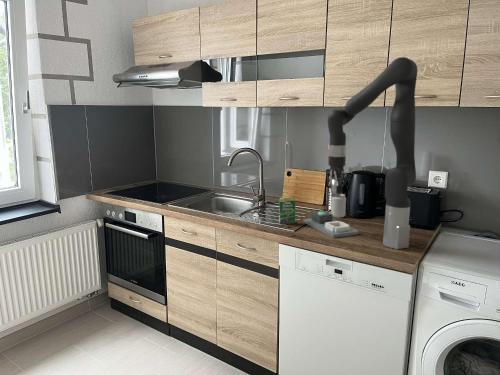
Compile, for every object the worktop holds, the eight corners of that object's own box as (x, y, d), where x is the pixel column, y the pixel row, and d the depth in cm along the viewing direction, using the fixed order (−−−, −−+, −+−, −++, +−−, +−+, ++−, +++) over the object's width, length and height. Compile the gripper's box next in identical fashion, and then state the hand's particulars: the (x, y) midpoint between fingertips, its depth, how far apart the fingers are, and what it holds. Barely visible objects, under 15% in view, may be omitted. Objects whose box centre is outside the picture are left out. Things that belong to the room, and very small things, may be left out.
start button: (328, 219, 181) (328, 213, 180) (320, 220, 179) (320, 214, 179) (323, 217, 185) (323, 211, 184) (315, 217, 183) (316, 212, 183)
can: (335, 218, 192) (336, 196, 190) (328, 214, 199) (329, 193, 197) (347, 217, 194) (349, 195, 192) (340, 213, 201) (341, 192, 199)
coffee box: (278, 224, 182) (279, 198, 179) (278, 222, 185) (278, 197, 182) (295, 224, 182) (295, 198, 179) (294, 222, 185) (295, 197, 182)
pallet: (358, 234, 167) (359, 222, 166) (333, 237, 162) (333, 226, 161) (326, 219, 191) (327, 209, 190) (303, 222, 186) (303, 211, 185)
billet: (341, 196, 166) (342, 179, 164) (334, 197, 164) (335, 180, 163) (336, 195, 170) (337, 178, 168) (329, 195, 168) (330, 178, 167)
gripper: (354, 156, 159) (352, 195, 162) (334, 153, 171) (333, 189, 175) (339, 157, 156) (338, 196, 159) (321, 154, 169) (320, 190, 172)
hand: (335, 192), depth 167 cm, fingers closed on billet, 4 cm apart
